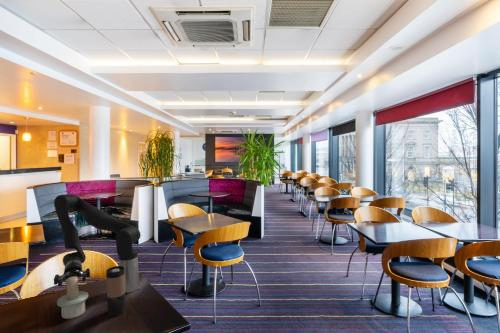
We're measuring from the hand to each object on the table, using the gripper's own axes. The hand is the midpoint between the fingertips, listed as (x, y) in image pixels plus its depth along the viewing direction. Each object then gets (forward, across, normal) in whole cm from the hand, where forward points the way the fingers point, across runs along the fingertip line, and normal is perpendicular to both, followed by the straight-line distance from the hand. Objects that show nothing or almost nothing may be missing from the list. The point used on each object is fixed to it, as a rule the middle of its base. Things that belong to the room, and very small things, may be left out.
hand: (72, 282), depth 123 cm
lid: (-2, 0, +9) cm, 9 cm away
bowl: (-2, 0, +15) cm, 15 cm away
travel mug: (+8, +17, +15) cm, 24 cm away
